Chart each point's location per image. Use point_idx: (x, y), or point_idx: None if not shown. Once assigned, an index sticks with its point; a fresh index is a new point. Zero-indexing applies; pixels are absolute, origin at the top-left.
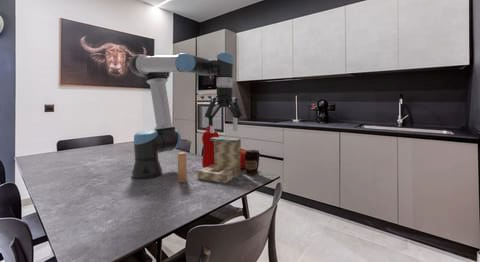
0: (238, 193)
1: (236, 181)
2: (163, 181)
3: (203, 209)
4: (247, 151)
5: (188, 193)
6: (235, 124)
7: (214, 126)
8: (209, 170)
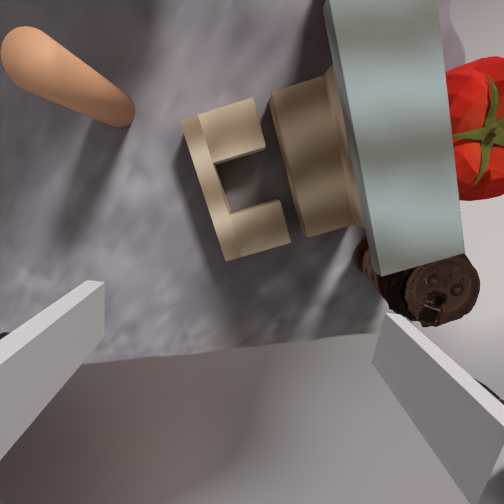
0: (193, 346)
1: (270, 269)
2: None
3: None
4: (412, 280)
5: (72, 240)
6: (413, 404)
7: (65, 382)
8: (223, 159)
